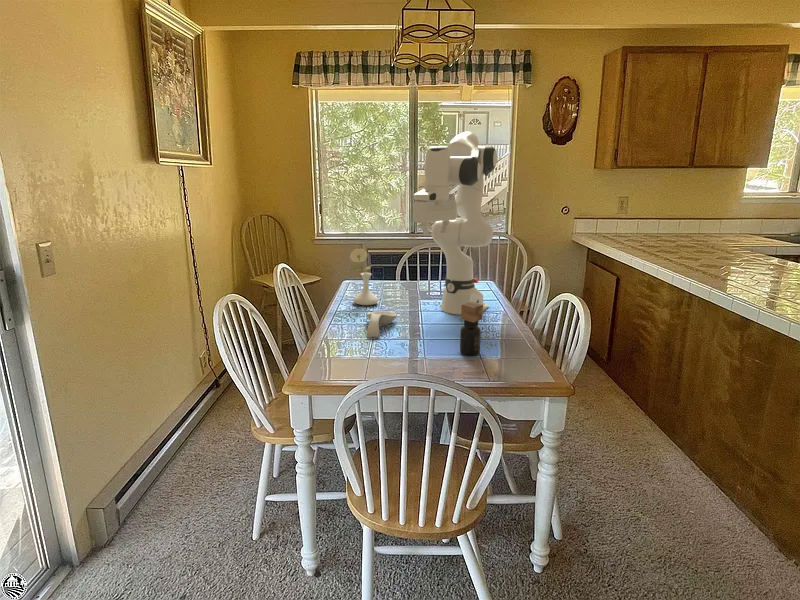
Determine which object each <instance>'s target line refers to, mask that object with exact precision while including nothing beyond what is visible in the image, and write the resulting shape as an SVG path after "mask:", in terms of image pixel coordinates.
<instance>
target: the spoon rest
mask: <svg viewBox="0 0 800 600" xmlns="http://www.w3.org/2000/svg"><path fill="white" fill-rule="evenodd" d="M366 316H367V318H368V320H369V323H368V327H367V331H366V337H367V338H380V336H381V335H380V328H379V326H380V327H381V326H382V327H383V326H388V325H390V324H392V323H393V322H394V320H395V319H396V318H397V313H395V312H394V311H386V310H385V311H381V310H379V311H372V312H370V311H369V312H368V313H366Z"/></svg>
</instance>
